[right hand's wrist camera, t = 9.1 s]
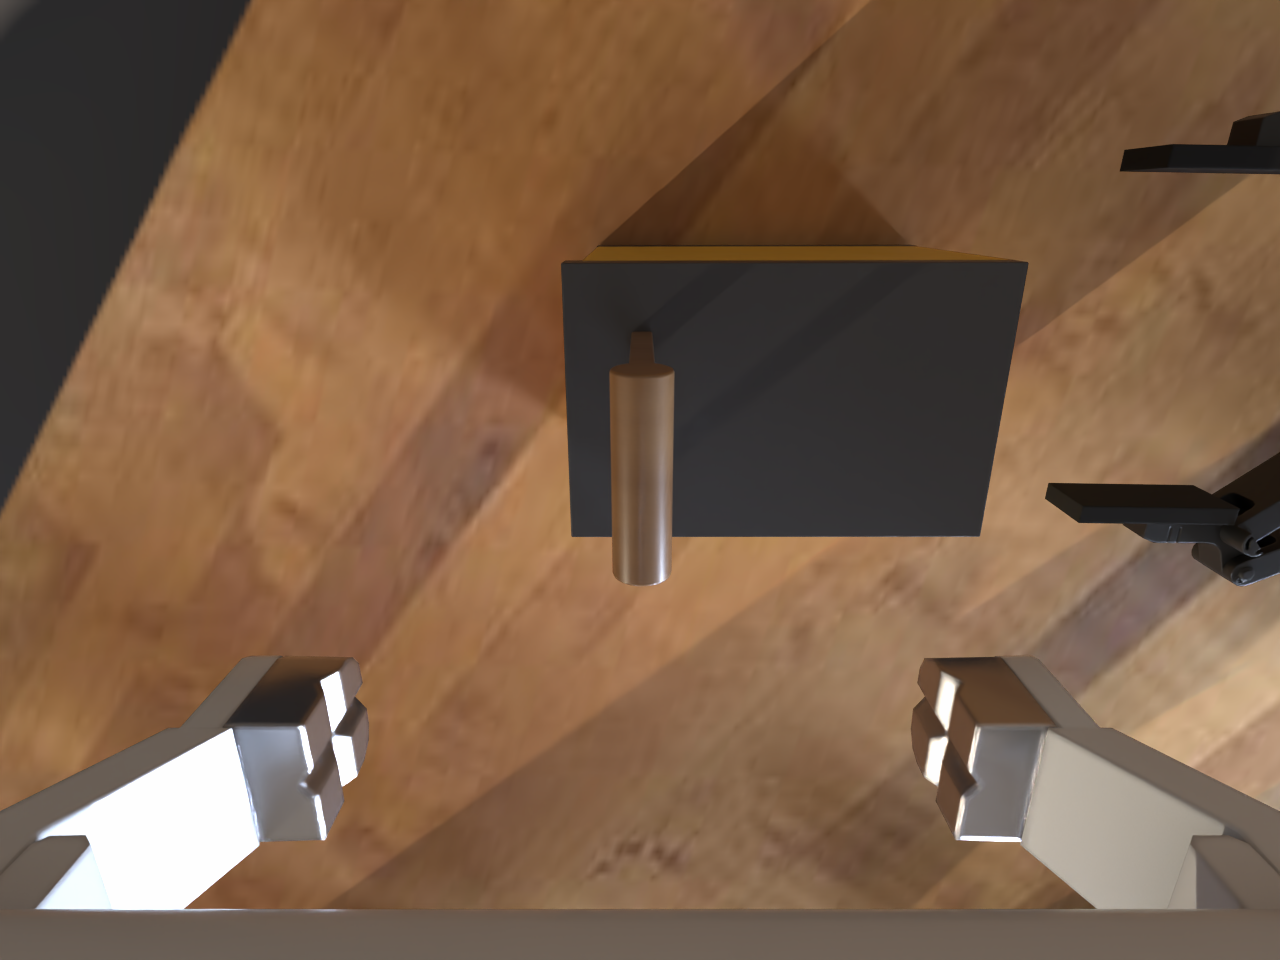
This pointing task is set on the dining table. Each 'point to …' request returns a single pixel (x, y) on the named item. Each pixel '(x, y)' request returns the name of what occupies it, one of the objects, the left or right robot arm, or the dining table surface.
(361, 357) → the dining table surface
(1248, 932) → the right robot arm
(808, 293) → the lid
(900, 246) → the chest
